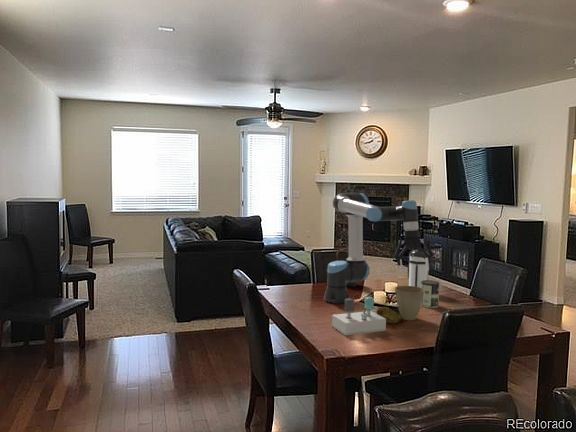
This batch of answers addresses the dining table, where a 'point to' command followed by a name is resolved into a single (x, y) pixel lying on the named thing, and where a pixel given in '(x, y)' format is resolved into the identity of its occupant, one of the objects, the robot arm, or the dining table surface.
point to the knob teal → (369, 304)
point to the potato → (389, 315)
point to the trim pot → (364, 316)
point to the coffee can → (430, 293)
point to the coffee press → (417, 268)
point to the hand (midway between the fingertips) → (414, 271)
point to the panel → (358, 323)
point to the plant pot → (409, 301)
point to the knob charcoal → (349, 307)
